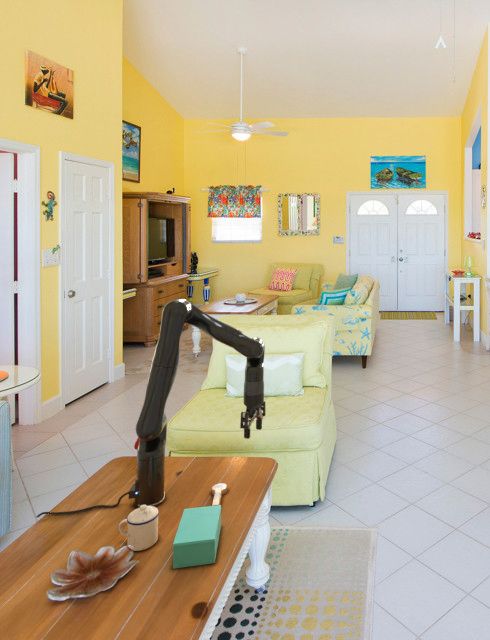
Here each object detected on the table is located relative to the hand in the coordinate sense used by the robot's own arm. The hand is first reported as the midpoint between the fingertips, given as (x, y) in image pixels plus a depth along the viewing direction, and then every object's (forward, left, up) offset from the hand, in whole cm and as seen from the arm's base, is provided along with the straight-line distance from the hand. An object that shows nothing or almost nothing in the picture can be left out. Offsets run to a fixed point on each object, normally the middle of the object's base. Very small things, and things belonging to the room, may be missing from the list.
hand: (253, 433), depth 177 cm
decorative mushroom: (-44, +30, -23) cm, 58 cm away
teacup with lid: (-34, -22, -23) cm, 47 cm away
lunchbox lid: (-15, -29, -16) cm, 36 cm away
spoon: (-12, -2, -23) cm, 26 cm away
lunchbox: (-15, -28, -23) cm, 39 cm away
